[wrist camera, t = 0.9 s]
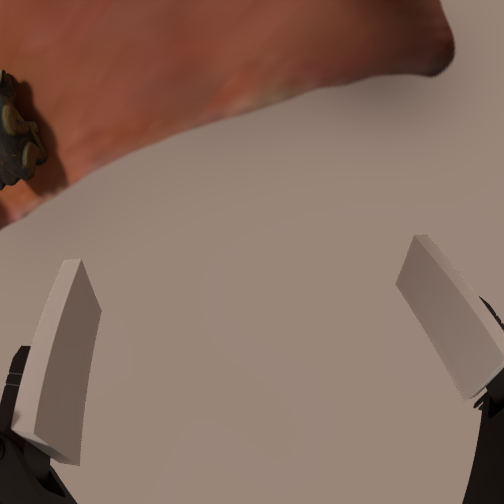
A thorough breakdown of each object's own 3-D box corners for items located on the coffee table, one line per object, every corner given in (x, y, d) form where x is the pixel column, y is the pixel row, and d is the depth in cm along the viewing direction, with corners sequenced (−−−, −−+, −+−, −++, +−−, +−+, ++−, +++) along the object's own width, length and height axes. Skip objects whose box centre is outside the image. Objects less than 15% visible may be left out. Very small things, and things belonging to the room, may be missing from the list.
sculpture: (-14, 82, 22) (-47, 95, 17) (24, 60, 23) (-7, 68, 17) (14, 174, 31) (-11, 200, 25) (52, 159, 31) (28, 184, 26)
